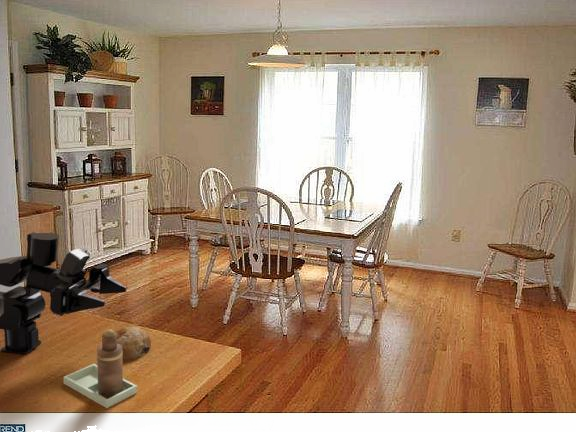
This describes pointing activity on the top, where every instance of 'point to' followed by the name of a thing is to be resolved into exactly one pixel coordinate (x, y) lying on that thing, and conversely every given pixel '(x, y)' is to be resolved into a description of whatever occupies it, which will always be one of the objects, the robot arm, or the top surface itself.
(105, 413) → the top surface
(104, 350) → the pepper mill
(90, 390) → the caddy
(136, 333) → the bread roll
